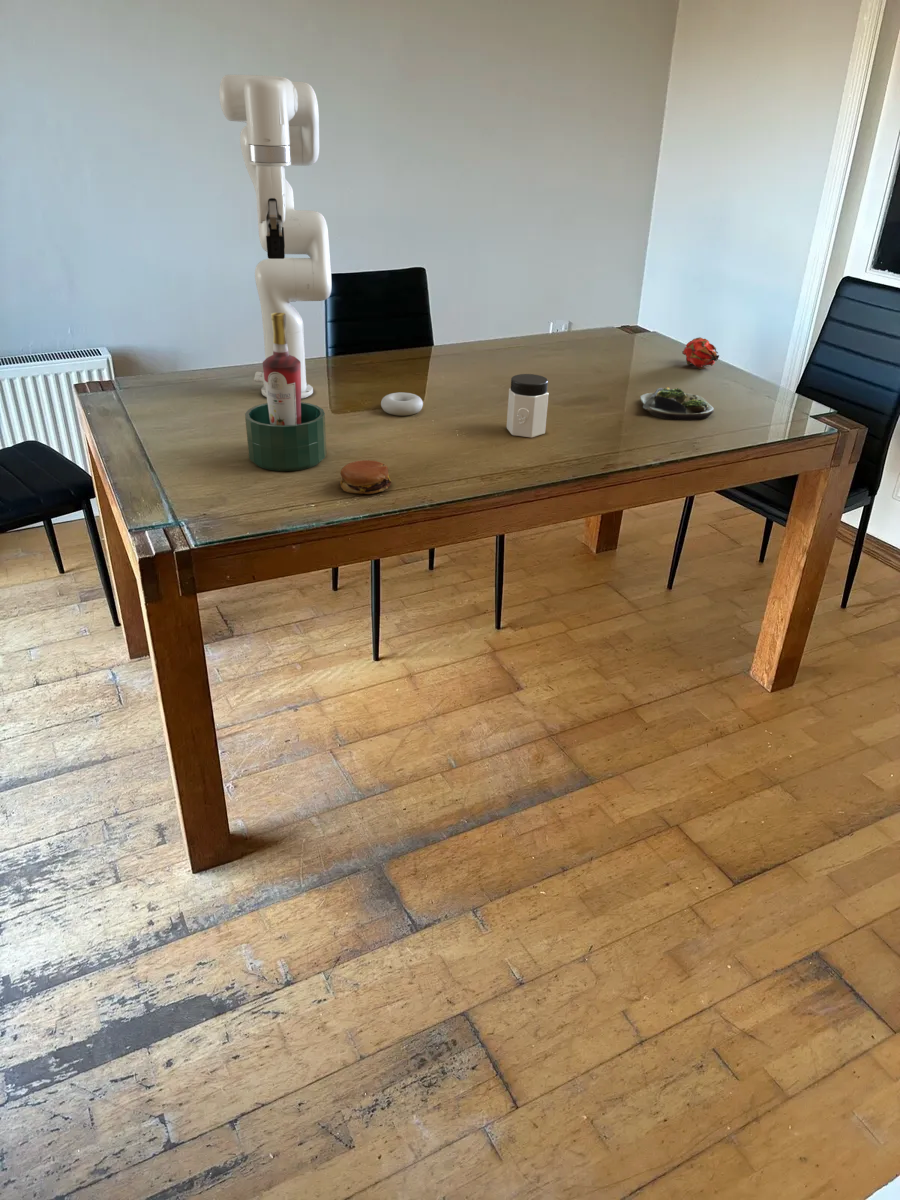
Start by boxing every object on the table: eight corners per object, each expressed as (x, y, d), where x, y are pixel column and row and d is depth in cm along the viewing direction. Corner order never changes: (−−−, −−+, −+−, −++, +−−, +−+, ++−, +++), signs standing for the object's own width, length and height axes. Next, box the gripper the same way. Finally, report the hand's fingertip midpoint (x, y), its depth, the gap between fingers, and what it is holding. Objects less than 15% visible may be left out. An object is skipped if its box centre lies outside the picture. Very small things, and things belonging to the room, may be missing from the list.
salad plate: (627, 394, 224) (630, 376, 221) (696, 396, 225) (699, 378, 222) (644, 419, 207) (647, 400, 205) (718, 421, 208) (722, 402, 206)
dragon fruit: (684, 365, 256) (710, 382, 247) (670, 350, 250) (696, 367, 242) (704, 341, 253) (731, 357, 245) (690, 326, 248) (717, 342, 239)
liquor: (264, 458, 176) (252, 317, 162) (276, 446, 183) (266, 308, 168) (299, 462, 175) (290, 319, 161) (310, 449, 182) (302, 311, 167)
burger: (331, 483, 168) (330, 461, 166) (373, 474, 173) (372, 452, 171) (357, 502, 162) (356, 478, 159) (399, 491, 166) (399, 468, 164)
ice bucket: (234, 464, 175) (229, 419, 170) (274, 440, 188) (271, 397, 183) (302, 477, 171) (300, 431, 166) (339, 451, 183) (337, 407, 178)
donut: (376, 416, 204) (417, 419, 202) (375, 401, 202) (417, 404, 201) (387, 403, 213) (427, 406, 211) (386, 389, 211) (427, 392, 209)
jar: (501, 434, 195) (505, 381, 189) (510, 423, 202) (514, 371, 196) (541, 439, 193) (545, 386, 187) (548, 428, 200) (553, 376, 194)
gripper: (250, 150, 168) (258, 245, 177) (247, 160, 153) (255, 262, 162) (290, 151, 169) (295, 245, 178) (290, 160, 155) (296, 262, 164)
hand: (276, 253), depth 170 cm, fingers open, 9 cm apart
